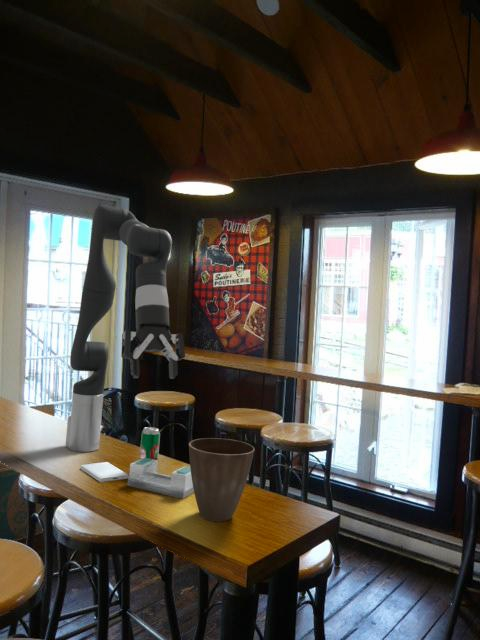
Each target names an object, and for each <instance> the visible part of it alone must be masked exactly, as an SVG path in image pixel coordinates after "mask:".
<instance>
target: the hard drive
mask: <svg viewBox="0 0 480 640" xmlns="http://www.w3.org/2000/svg"><path fill="white" fill-rule="evenodd" d="M80 470H82V471H83V472H85V474H87V475H89V476H90V477H92V478H93V479H95V480H97V481H98V482H99V483H105V482H112V481H119V480H126V479H127V480H128V477H129V473H126V472H125V471H123V470H122V469H120V468H118V467H116V466H115V465H113V464H111V463H110V462H109V461H105V462H95V463H89V464H88V463H87V464H82V465H80Z"/></svg>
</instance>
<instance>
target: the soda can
mask: <svg viewBox="0 0 480 640" xmlns="http://www.w3.org/2000/svg"><path fill="white" fill-rule="evenodd" d="M140 437H141V438H140V439H141V440H140V449H139V450H140V451H139V459H138V460H141V459H143V458H149V459H153V460H158V461H159V452H160V451H159V450H160V441H161V440H160V439H161V433H160V429H159V428H158V427H153V426H151V427H150V426H148V427H144V428H143V430H142V431H141V436H140Z"/></svg>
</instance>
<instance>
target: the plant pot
mask: <svg viewBox="0 0 480 640" xmlns="http://www.w3.org/2000/svg"><path fill="white" fill-rule="evenodd" d="M188 452H189V453H188V456H189V467H190V469H191V476H192V483H193V489H194V492H193V494H194V498H195V502H196V505H197V509H198V513H199V515H200V517H201V518H202V519H205V520H207V521H211V522H226V521H228V520H231V519H232V518H233V516H234V515H235V512H236V510H237V508H238V506H239V503H240V500H241V498H242V495H243V493H244V490H245V488H246V484H247V480H248V478H249V475H250V470H251V467H252V464H253V463H252V461H253V457H254V452H255V447H254V446H253V445H251V444H249V443H247V442H244V441H241V440H235V439H229V438H221V437H220V438H219V437H217V438H216V437H207V438H205V437H204V438H197V439H193V440H191V441H190V442H189V443H188Z"/></svg>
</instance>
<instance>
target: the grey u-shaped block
mask: <svg viewBox="0 0 480 640" xmlns="http://www.w3.org/2000/svg"><path fill="white" fill-rule="evenodd" d="M158 463H159V459H158V460H153V459H149V458H143V459H141V460H139V459H138V460H135V461H134V462H131V463H130V464H129V473H128V475H129V477H128V478H127V486H128V487H133V488H137V489H141V490H145V491H148V492H154V493H158V494H161V495H166V496H169V497H175V498H179V499H183V500H184V499H185V498H187V497H188V496H190V495H192V494H194V489H193V483H192V476H191V469H190V466H185V465H184V466H183V467H181V468H178V469H175V470H174V471H172V472H171V475H168V474H162V473H158ZM191 493H192V494H191Z"/></svg>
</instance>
